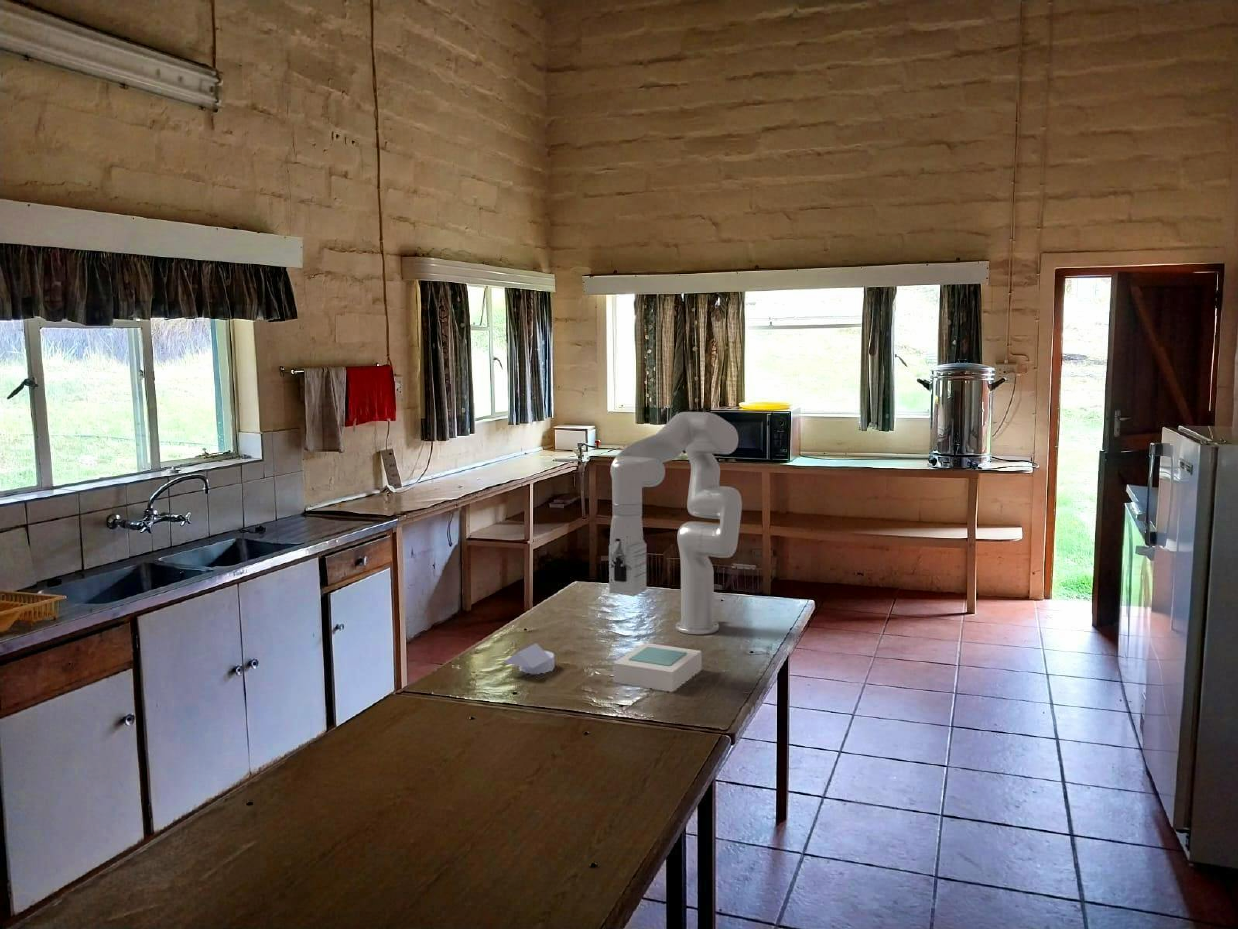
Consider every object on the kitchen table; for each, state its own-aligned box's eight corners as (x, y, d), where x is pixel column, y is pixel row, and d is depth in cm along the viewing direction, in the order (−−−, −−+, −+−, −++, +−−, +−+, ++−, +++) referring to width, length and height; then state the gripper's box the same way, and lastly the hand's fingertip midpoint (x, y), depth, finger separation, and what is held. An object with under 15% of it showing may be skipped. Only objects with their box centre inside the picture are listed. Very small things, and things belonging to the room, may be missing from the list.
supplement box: (608, 594, 250) (607, 545, 248) (622, 587, 256) (621, 539, 255) (633, 597, 246) (633, 547, 245) (647, 590, 253) (647, 542, 251)
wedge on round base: (532, 681, 244) (561, 666, 255) (532, 655, 243) (560, 640, 255) (503, 675, 249) (532, 660, 260) (502, 649, 248) (531, 636, 259)
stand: (645, 661, 258) (644, 641, 258) (701, 669, 251) (701, 649, 250) (613, 682, 242) (613, 661, 242) (672, 692, 235) (672, 671, 234)
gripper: (630, 503, 258) (631, 569, 260) (597, 514, 243) (598, 583, 245) (656, 505, 254) (656, 572, 256) (623, 516, 239) (624, 587, 241)
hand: (628, 577), depth 251 cm, fingers closed on supplement box, 7 cm apart
